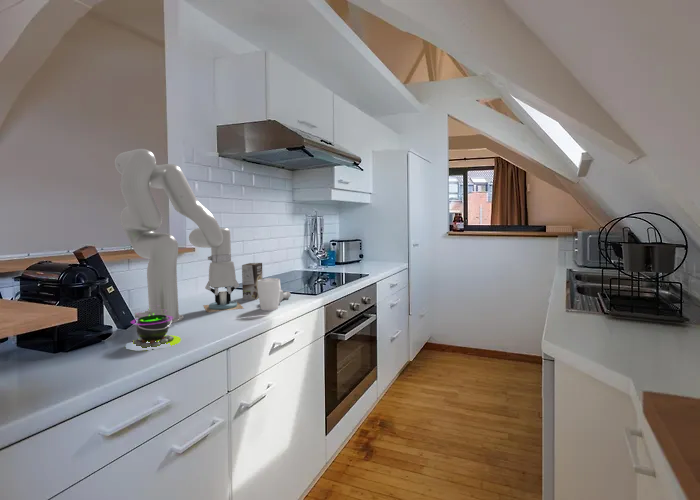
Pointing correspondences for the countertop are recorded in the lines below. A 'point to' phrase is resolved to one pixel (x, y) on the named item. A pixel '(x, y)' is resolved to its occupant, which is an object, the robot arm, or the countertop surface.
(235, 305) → the lid
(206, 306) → the board
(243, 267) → the coffee box
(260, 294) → the cup
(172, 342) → the toy cauldron
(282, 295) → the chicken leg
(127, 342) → the countertop surface
